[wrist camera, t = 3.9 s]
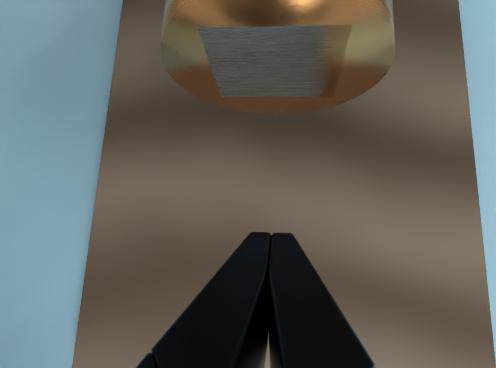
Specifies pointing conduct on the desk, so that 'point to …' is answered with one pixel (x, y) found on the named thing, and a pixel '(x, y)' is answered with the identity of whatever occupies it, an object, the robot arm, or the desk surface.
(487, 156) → the desk surface
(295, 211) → the walnut board
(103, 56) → the desk surface
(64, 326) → the desk surface
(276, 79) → the gold rounded piece
